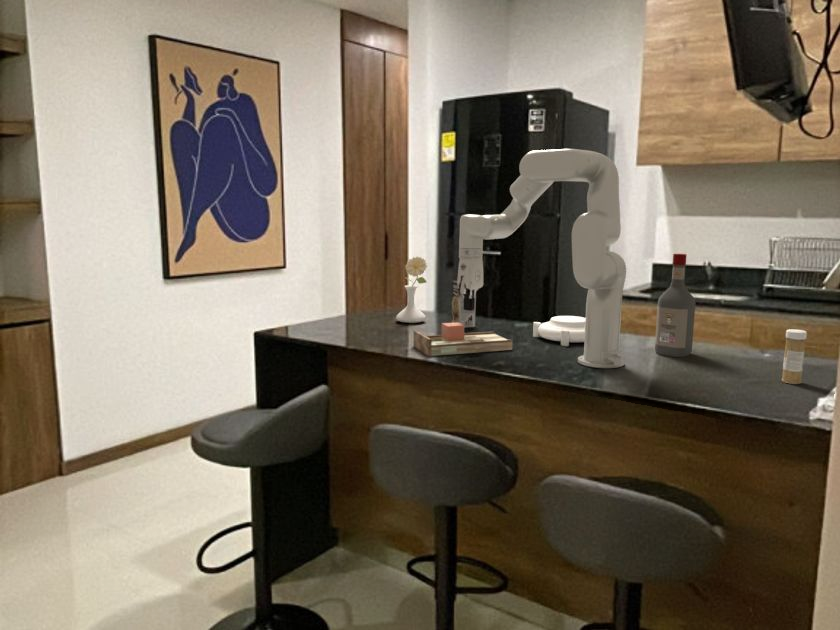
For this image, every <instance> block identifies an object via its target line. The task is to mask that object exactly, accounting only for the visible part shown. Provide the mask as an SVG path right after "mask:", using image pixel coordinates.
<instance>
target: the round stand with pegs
mask: <svg viewBox="0 0 840 630" xmlns="http://www.w3.org/2000/svg"><path fill="white" fill-rule="evenodd" d="M532 327H533V329H532V330H533V331H532V337H533V338H543V339H545V340H549V341H554V342H560V346H561V347H569V346H570V343H573V344H574V343H584V340H585V317H583V316H578V315H577V316H575V315H557V316H553V317H551V318H550V320H549V321H546V322H539V321H533V326H532Z"/></svg>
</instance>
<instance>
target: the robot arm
mask: <svg viewBox="0 0 840 630" xmlns="http://www.w3.org/2000/svg"><path fill="white" fill-rule="evenodd" d="M518 167H519V168H518V169H519V174H520V175H519V176H518V177H517V178H516V180H515V181H514V182H513V183H512V184H511V185H509V186H510V187H509V193H510V195H511V197H512V200H511V202H510V204H509V205H508V206H507V207H506V208H505V209H504V210H503V211H502V212H501V213H500V214H484V215H482V214H481V215H480V214H462V215H461V216H460V218H459V241H458V243H459V244H458V245H459V246H458V258H459V262H458V268H457V269H458V270H457V281H458V288H459V289H460V293H461V294H463V298H464V307H463V309H464V310H469V311H472V310H474V307H475V296H476V297H477V291H479V289H481V288H483V286H484V261H483V250H484V249H483V248H484V247H483V245H484V240H486V241H487V240H495V239H496V240H498V239H506V238H508V237H509V236H511V235H513V233H514V232H516V231H517V230H518V228H520V227H521V225H523V223H524V222H525V221H526V220H527V218H528V216H529V214H530V211H531V207H532V206H533V204H534V203H535V202H536V201H537V200H538V199H539V198H540V197H541V196H542V195H543V194H544V192H545V191H547V190H548V189H549V188H550V187H551V186H552V185H553V183H554V182H583V183H584V182H585V183H588V185H589V186H588V190H587V196H586V202H587V203H586V204H587V212H584V213H582V214H580V215H579V216H578V217H577V218H576V220H575V221H574V222H573V225H572V229H571V256H572V257H571V258H572V271H573V272H572V273H573V277H574V278H575V281H576V282H577V284H578V285H580V287H582V288H584V289H588V290H587V295H586V303H585V317H584V318H585V340H584V342H583V343H584V344H583V346H584V347H583V355H582V354H581V355H579V356H578V357H577V362H578V364H580V365H583V366H585V367H589V368H597V369H616V368H621V367H623V366H624V364H625V357H624V356H621V350H620V335H621V318H622V302H623V293H624V287H625V282H626V276H627V265H626V262H625V260H624V259H623V257H622V256H621V255H620V254H619V253H616V251H615V252H614V251H609V250H607V247H608V246H611V245H613V244H615V243H616V242H618V241H619V239H620V236H621V229H622V227H621V208H620V207H621V204H620V179H619V178H620V176H619V172H618V168H617V165H616V164H615V162H614V161H613V160H612V159H611V158H610V157H608V156H607V155H605V154H603V153H600V152H597V151H592V150H586V149H576V148H561V149H546V150H545V149H544V150H543V149H541V150H531V151H529V152H527V153H526V154H525V155H524V156H523V157H522V158H521V160H520V162H519V166H518Z"/></svg>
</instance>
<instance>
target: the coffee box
mask: <svg viewBox="0 0 840 630" xmlns="http://www.w3.org/2000/svg"><path fill="white" fill-rule="evenodd" d="M476 302H477V295H476V296H475V307H474V310H472V311H469V310H464V309H463V307H464V298H463V294H461V293H460V289H459V288H458V280H452V281H451V323H456V322H458V323H460V324H462V325H464V328H476V307H477V305H476V304H477V303H476Z"/></svg>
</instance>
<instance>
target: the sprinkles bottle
mask: <svg viewBox="0 0 840 630" xmlns="http://www.w3.org/2000/svg"><path fill="white" fill-rule="evenodd" d="M807 337H808V333H807V331H806V330H803V329H796V328H795V329H793V328H791V329H790V328H789V329H786V331H785V348H784V354H783V361H782V362H783V364H782V378H781V381H782V382H783V383H786V384H792V385H799V384H801V383H802V373H803V369H804V359H805V358H804V357H805V349H806V348H805V346H806V339H807Z"/></svg>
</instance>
